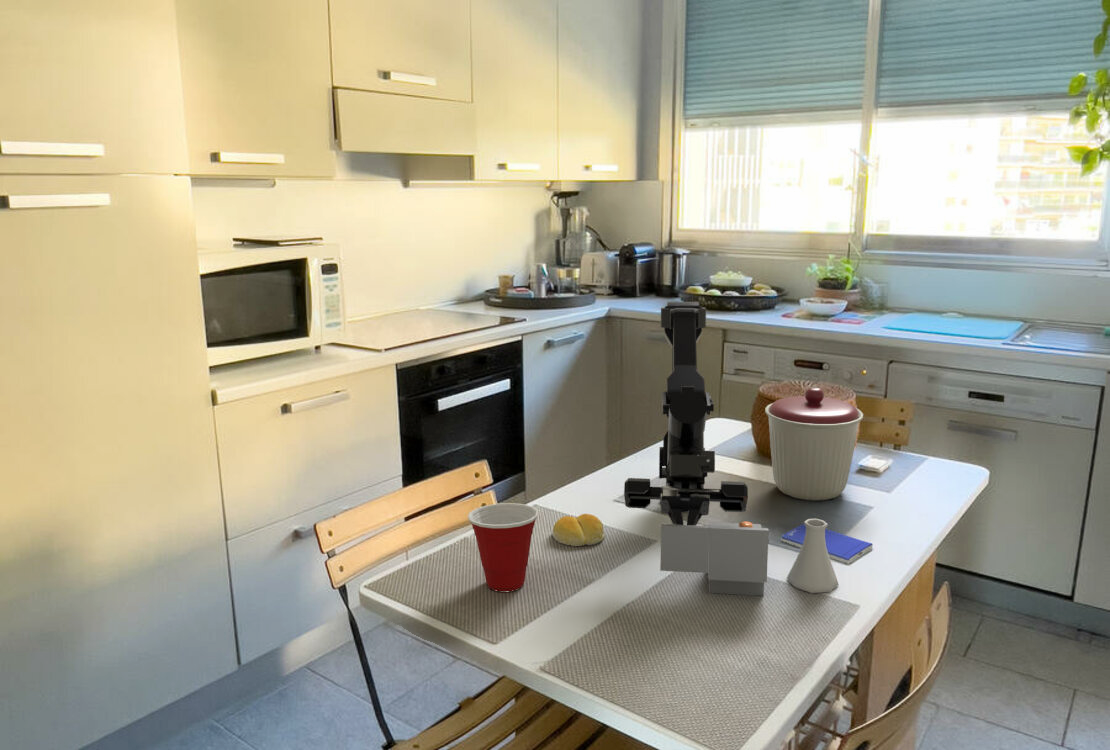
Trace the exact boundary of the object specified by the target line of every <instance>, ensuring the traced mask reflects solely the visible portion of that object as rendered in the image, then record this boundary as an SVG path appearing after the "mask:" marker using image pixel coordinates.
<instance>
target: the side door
mask: <svg viewBox="0 0 1110 750" xmlns="http://www.w3.org/2000/svg"><path fill="white" fill-rule="evenodd" d="M769 531H770V530H769V528H768V527H762V528H748V527H723V526H710V530H709V525H698V524H697V525H687V524H683V525H675V524H673V523H672V524H669V523H661V524H660V559H659V560H660V563H659V564H660V569H659V571H660V572H678V573H679V572H681V573H698V574H699V573H700V574H701V573H702V574H707V577H708V578H707V580H708V579H710V580H730V581H749V582H765V583H767V582H768V557H769V556H768V555H769V554H768V553H769ZM708 553H709V572H708Z"/></svg>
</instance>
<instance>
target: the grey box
mask: <svg viewBox="0 0 1110 750" xmlns="http://www.w3.org/2000/svg"><path fill="white" fill-rule="evenodd" d="M708 526H709V530H710V526H723V527H748V528H763V527H762V524H759V523H752V522H750V521H745V520H744V521H740V522H719V521H717V522H716V521H715V522H714V521H708ZM708 572H709V553H708ZM707 580H708V591H709V592H708V593H709V594H724V595H725V594H726V595H727V594H728V595H744V596H746V595H748V596H761V597H764V591H765V583H766V582H749V581H730V580H710V579H708V578H707Z"/></svg>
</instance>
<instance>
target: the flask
mask: <svg viewBox="0 0 1110 750" xmlns="http://www.w3.org/2000/svg"><path fill="white" fill-rule="evenodd" d="M803 524H804V525H805V526H806V534H805V538H804V542H803V545H802V548H800V550H799V553H798V554H797V557H796V559H795V560H794V562H793V564H792V567H791V569H790V571H789V573H788V574H787V577H786V579H787V580H788V582H789V583H790V584H791V585H792V586H793V587H794V588H796V589H799V590H802V591H805V592H808V593H811V594H815V593H826V592H827V593H829V592H831V591H833V590H834V589H835V588H837V587H838V586H839V581H838V579H837V575H836V573H835V570H834V567H833V564H832V561H831V558H830V557H829V554H828V551H827V548H826V541H825V529H827V527H828V522H826V521H825V520H822V519H820V518H819V519H818V518H808V519H806V520H805V521H803Z"/></svg>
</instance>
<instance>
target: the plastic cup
mask: <svg viewBox="0 0 1110 750" xmlns="http://www.w3.org/2000/svg"><path fill="white" fill-rule="evenodd" d="M538 516H539V510H538V509H537V508H535V506H532V505H528V504H524V503H516V502H515V503H514V502H508V503H507V502H504V503H503V502H502V503H500V502H499V503H494V504H486V505H482V506H481V507H480V506H479V507H476V508H475V509H473V510H471V511H469V513H468V515H467V519H468V521H469V522H470V523H471V526H472V529H473V532H474V535H475V539H476V544H477V547H478V552H479V553H478V554H479V557H480V562H481V565H482V566H481V567H482V568H483V573H484V578H485V582H486V584H487V587H488V586H489V587H488V589H490V588H491V589H494V590H497V591H512V590H516V589H518V588H520V587H521V586H522V585H523V584H524V585H525V581H526V572H527V567H528V565H529V564H528V562H529V556H530V551H531V550H530V549H531V542H532V535H533V531H534V527H535V523H536V521H537V519H538ZM524 585H523V586H524ZM523 586H522V587H523ZM522 587H521V588H522ZM521 588H520V589H521ZM491 589H490V590H491ZM518 590H519V589H518ZM497 591H496V592H497ZM516 591H517V590H516ZM512 592H513V591H512Z"/></svg>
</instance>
